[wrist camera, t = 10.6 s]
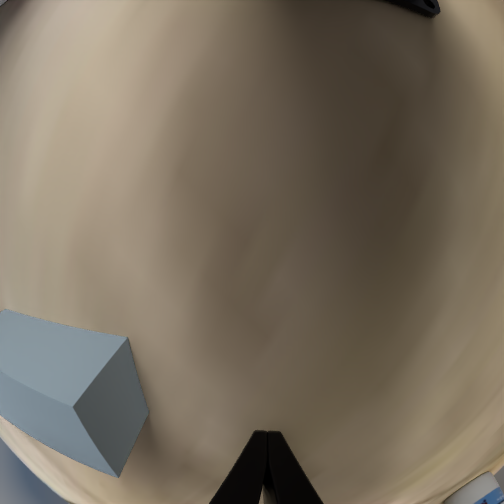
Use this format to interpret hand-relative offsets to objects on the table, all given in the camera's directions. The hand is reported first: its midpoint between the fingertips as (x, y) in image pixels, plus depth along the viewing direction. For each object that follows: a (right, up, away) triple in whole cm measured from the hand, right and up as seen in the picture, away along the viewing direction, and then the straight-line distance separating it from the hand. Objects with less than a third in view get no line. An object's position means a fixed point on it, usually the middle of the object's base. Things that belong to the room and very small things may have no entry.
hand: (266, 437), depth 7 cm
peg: (-9, +1, +2) cm, 9 cm away
